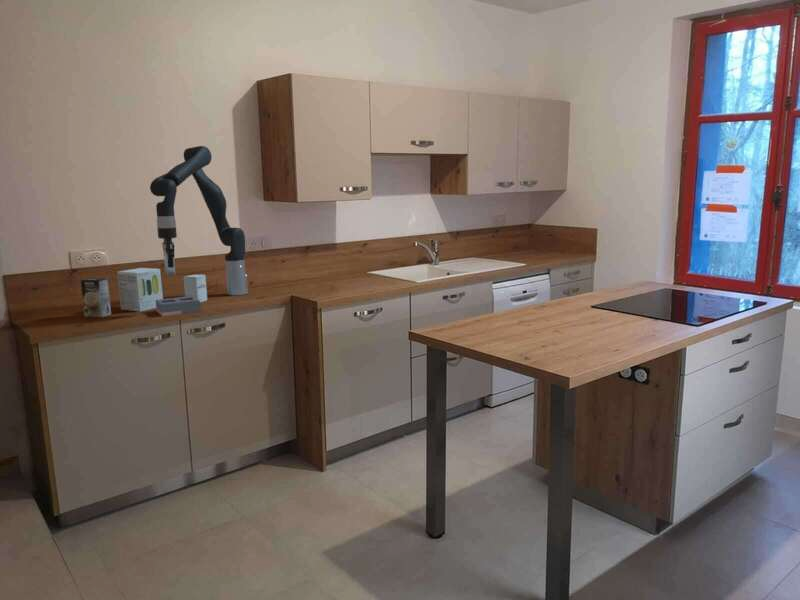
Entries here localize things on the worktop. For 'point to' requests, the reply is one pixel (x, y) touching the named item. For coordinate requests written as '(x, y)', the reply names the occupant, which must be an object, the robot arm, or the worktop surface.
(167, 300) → the socket block
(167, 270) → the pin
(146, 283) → the supplement box
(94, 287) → the coffee box
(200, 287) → the supplement box
